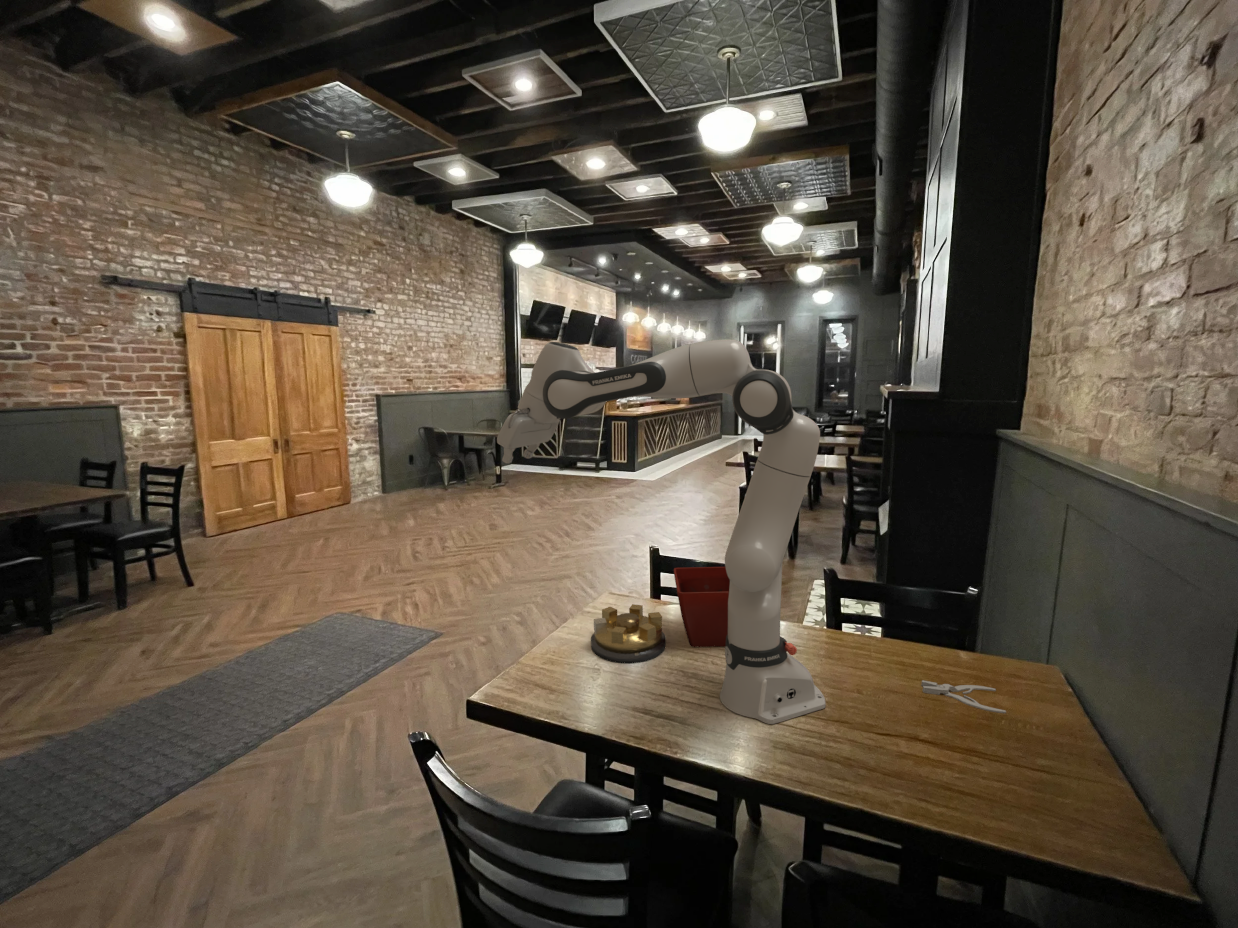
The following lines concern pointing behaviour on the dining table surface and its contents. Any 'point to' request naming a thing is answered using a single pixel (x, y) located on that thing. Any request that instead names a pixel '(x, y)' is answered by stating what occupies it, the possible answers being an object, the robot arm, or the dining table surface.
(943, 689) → the pliers
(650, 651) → the nut base
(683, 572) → the plant pot
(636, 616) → the ring nut
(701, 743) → the dining table surface
